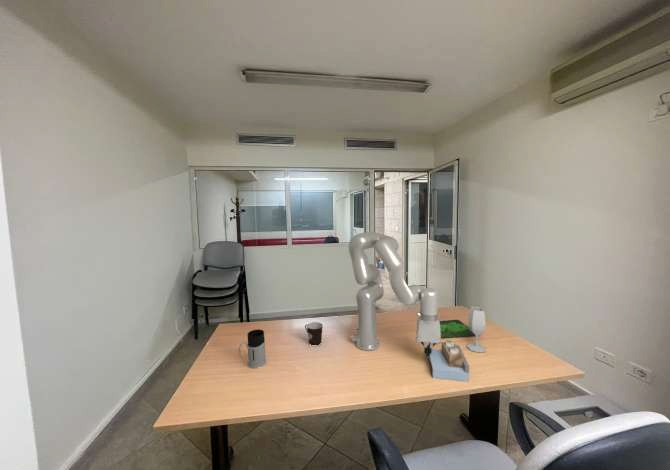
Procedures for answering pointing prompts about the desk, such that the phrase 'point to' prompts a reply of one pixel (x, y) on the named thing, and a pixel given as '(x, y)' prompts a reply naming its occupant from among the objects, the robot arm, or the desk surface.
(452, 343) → the brown block with knobs
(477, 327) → the wineglass
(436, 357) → the shelf
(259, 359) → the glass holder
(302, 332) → the desk surface
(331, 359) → the desk surface
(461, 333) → the mouse mat
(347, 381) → the desk surface
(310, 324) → the coffee mug
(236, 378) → the desk surface
